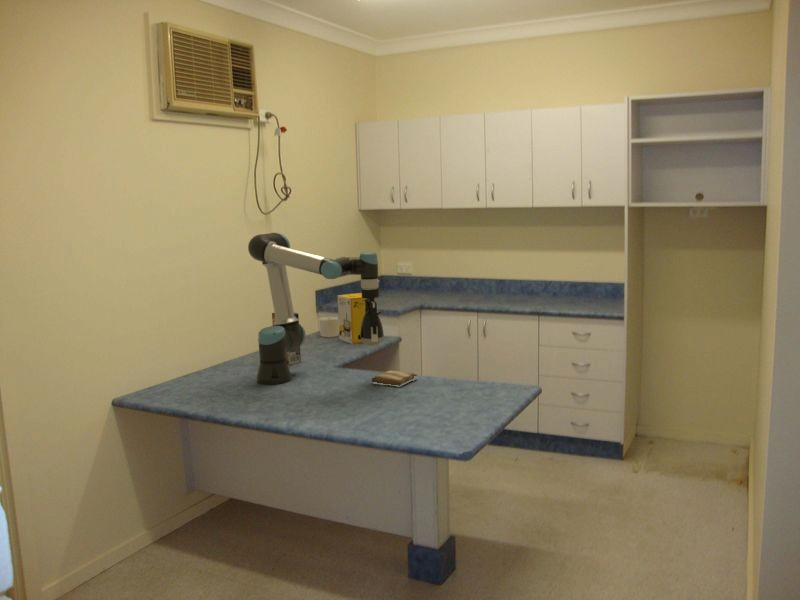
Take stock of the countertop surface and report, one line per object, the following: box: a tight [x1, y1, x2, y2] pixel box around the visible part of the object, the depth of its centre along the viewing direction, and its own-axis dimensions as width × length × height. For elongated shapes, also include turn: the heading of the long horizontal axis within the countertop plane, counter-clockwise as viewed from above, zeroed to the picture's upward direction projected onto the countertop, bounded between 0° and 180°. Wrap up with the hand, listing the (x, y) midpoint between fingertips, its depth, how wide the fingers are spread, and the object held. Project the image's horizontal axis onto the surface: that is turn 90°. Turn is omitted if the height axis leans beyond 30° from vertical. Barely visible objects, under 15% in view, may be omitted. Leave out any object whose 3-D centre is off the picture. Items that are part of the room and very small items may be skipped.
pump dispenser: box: [360, 310, 385, 347], centre depth 316 cm, size 10×10×15 cm
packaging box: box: [337, 292, 379, 345], centre depth 405 cm, size 16×16×25 cm
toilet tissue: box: [319, 316, 339, 338], centre depth 420 cm, size 11×12×10 cm
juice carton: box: [271, 312, 302, 365], centre depth 358 cm, size 12×8×24 cm, turn 43°
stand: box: [371, 369, 418, 386], centre depth 315 cm, size 14×14×3 cm
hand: (372, 339), depth 317 cm, fingers closed on pump dispenser, 10 cm apart
